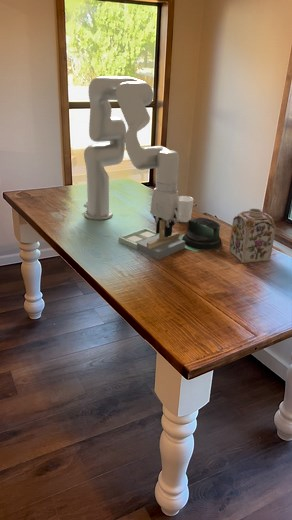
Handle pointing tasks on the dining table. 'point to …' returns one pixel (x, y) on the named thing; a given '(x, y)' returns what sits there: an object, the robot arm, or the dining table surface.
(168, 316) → the dining table surface
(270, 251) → the decorative jar
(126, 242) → the tray
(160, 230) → the tan bar
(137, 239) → the tile
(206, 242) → the dark round cap
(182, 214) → the white cup
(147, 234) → the tile
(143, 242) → the board
